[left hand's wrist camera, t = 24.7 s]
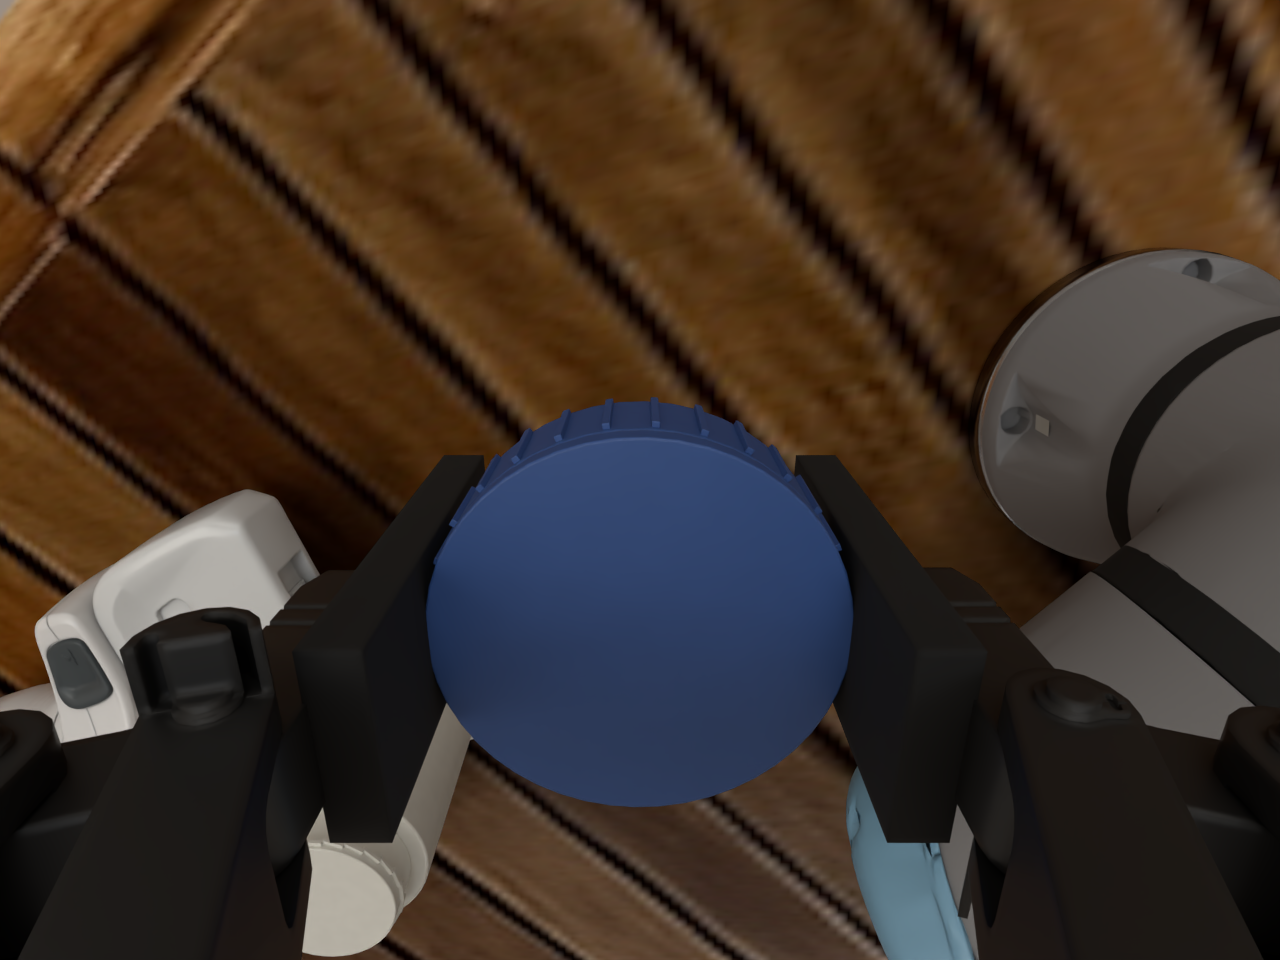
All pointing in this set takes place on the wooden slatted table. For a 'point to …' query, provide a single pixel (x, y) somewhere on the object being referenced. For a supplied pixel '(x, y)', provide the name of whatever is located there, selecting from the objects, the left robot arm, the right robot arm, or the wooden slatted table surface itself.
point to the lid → (639, 607)
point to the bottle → (382, 858)
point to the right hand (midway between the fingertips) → (449, 654)
